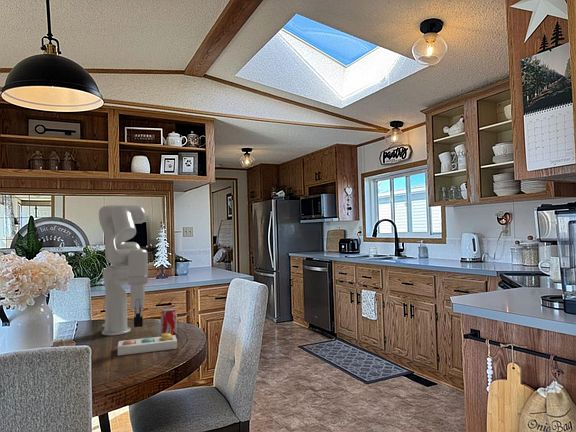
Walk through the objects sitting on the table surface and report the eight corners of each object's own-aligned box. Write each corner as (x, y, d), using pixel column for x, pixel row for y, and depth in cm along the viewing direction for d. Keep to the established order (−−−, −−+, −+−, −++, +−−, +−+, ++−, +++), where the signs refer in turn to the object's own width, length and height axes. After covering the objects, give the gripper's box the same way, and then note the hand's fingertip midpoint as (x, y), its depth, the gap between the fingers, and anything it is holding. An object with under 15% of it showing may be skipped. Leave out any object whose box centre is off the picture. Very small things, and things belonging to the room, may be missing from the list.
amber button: (161, 343, 161) (161, 336, 161) (160, 341, 165) (160, 333, 165) (171, 342, 162) (171, 335, 163) (170, 340, 166) (170, 332, 166)
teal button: (142, 348, 158) (142, 341, 159) (142, 346, 162) (142, 338, 162) (153, 347, 160) (153, 340, 160) (153, 345, 164) (152, 337, 164)
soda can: (172, 338, 176) (172, 310, 176) (157, 337, 177) (157, 310, 178) (179, 334, 183) (179, 307, 183) (165, 333, 184) (165, 307, 185)
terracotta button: (123, 351, 156) (123, 343, 156) (123, 348, 160) (123, 340, 160) (134, 349, 157) (134, 342, 158) (134, 347, 161) (134, 339, 161)
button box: (117, 355, 153) (117, 347, 153) (118, 348, 162) (118, 341, 162) (177, 348, 160) (177, 340, 160) (175, 342, 170) (175, 335, 170)
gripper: (128, 279, 167) (129, 323, 166) (126, 283, 152) (127, 331, 152) (147, 277, 169) (148, 321, 168) (147, 281, 155) (148, 329, 154)
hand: (138, 326), depth 160 cm, fingers closed
